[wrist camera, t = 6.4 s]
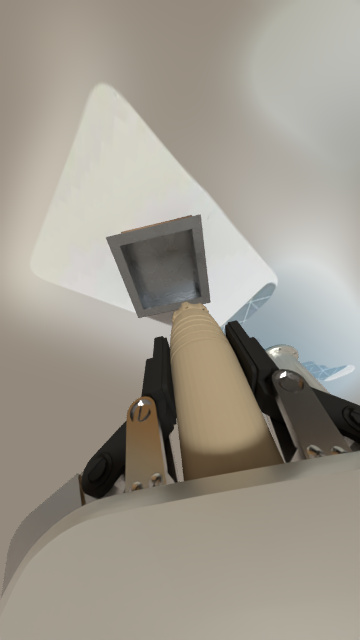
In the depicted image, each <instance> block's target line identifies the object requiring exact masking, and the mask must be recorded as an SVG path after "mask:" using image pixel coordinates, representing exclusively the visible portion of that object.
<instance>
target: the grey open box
mask: <svg viewBox="0 0 360 640" xmlns="http://www.w3.org/2000/svg"><path fill="white" fill-rule="evenodd" d="M106 239H107V241H108V244H109V246H110V249H111V251H112V254H113V256H114V259H115V261H116V264H117V266H118V269H119V271H120V274H121V276H122V278H123V281H124V283H125V286H126V288H127V291H128V293H129V296H130V298H131V301H132V303H133V306H134V308H135V311H136V313H137V315H138V318H141V317H146V316H150V315H155V314H159V313H164V312H169V311H173V310H178V309H179V308H180V307H181V304H182V303H184V302H188V303H190V304H198V303H201V304H206V303H210V294H209V285H208V276H207V267H206V258H205V249H204V240H203V231H202V222H201V215H196V216H192V217H188V218H184V219H180V220H176V221H172V222H167V223H163V224H159V225H155V226H151V227H147V228H143V229H139V230H134V231H130V232H126V233H122V234H118V235H114V236H110V237H106Z"/></svg>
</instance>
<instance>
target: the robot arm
mask: <svg viewBox="0 0 360 640" xmlns="http://www.w3.org/2000/svg"><path fill="white" fill-rule="evenodd" d="M225 332H226V338H227V340H228V341H229V343H230V345H231V347H232V349H233V351H234V352H235V354H236V357H237V359H238V361H239V363H240V366H241V368H242V370H243V372H244V375H245V377H246V379H247V381H248V384H249V386H250V388H251V390H252V393H253V395H254V397H255V399H256V402H257V404H258V406H259V408H260V410H261V412H263V413H264V414H266V416H267V419H268V422H269V425H270V428H271V431H272V434H273V437H274V440H275V443H276V446H277V448H278V450H279V452H280V454H281V457H282V459H283V461H284V464H278V465H272V466H267V467H261V468H256V469H250V470H244V471H239V472H233V473H228V474H222V475H216V476H211V477H205V478H200V479H194V480H189V481H184V482H180V481H179V477H178V471H177V467H176V461H175V456H174V451H173V446H172V440H171V435H170V433H171V432H172V431H173V429H174V425H175V424H176V418H177V414H176V406H175V398H174V390H173V382H172V374H171V360H170V347H169V344H168V341H167V338H164V337H163V336H161V337H157V338H155V339H154V351H153V358H150V359H147V360H146V366H145V374H144V381H143V389H142V396H141V397H140V398H138V399H137V400H135V401H134V402H133V403H132V404H131V405H130V407H129V409H128V412H127V420H126V422H125V423H124V424H123V425H122V426H121V427H120V428H119V429H118V430H117V431H116V432H115V433H114V434H113V436H112V437H111V438H110V439H109V440H108V441H107V442H106V443H105V444H104V445H103V446H102V448H100V449H99V450H98V452H97V453H96V454H95V455H94V456H93V457H92V458H91V459H90V461H89V462H88V464H87V466H86V467H85V469H84V471H83V472H82V473H81V474H76V475H75V476H74V477H73V478H72V479H70V480H69V481H68V482H67V483H66V484H64V485H63V486H62V487H61V488H60V489H59V490H57V491H56V492H55V493H54V494H53V495H52V496H50V497H49V498H48V499H47V500H45V501H44V502H43V503H42V504H41V505H40V506H38V507H37V508H36V509H35V510H34V511H32V512H31V513H30V514H29V515H28V516H27V517H26V518H25V519H24V520H23V521H22V523H21V524H20V526H19V527H18V529H17V530H16V532H15V534H14V536H13V538H12V540H11V542H10V546H9V550H8V554H7V562H6V569H5V576H4V583H3V590H2V597H1V600H0V640H360V406H359V405H357V404H354V403H352V402H349V401H346V400H344V399H341V398H339V397H336V396H333V395H331V394H330V393H329V392H328V391H327V390H326V389H325V388H324V387H323V386H322V385H321V384H320V383H319V382H318V380H317V379H316V378H315V377H314V376H313V375H312V374H311V373H310V372H309V371H308V370H307V369H306V368H305V367H304V366H303V365H302V364H301V363H300V362H299V361H298V352H297V351H296V350H295V349H294V348H293V347H292V346H289V345H277V346H273V347H271V348H268V349H267V350H264V349H263V347H262V346H261V345H260V344H259V342H258V341H257V340H256V339H255V338H254V337H252V338H249V336H248V335H247V334H246V332H245V331H244V330H243V328H242V327H241V325H240V324H239V323H238V321H232V322H228V325H225Z"/></svg>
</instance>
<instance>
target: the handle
mask: <svg viewBox="0 0 360 640" xmlns="http://www.w3.org/2000/svg"><path fill="white" fill-rule="evenodd" d="M172 322H173V325H172V330H171V340H170V360H171V374H172V382H173V390H174V398H175V406H176V414H177V422H178V431H179V440H180V449H181V458H182V467H183V476H184V481H189V480H194V479H200V478H205V477H211V476H216V475H222V474H228V473H233V472H239V471H244V470H250V469H256V468H261V467H267V466H272V465H278V464H284V461H283V459H282V457H281V454H280V452H279V450H278V448H277V446H276V443H275V441H274V439H273V437H272V435H271V433H270V431H269V428H268V426H267V424H266V422H265V419H264V417H263V415H262V413H261V411H260V408H259V406H258V404H257V402H256V399H255V397H254V395H253V393H252V390H251V388H250V386H249V384H248V381H247V379H246V377H245V375H244V372H243V370H242V368H241V366H240V363H239V361H238V359H237V357H236V354H235V352H234V351H233V349H232V347H231V345H230V343H229V341H228V340H227V338H226V336H225V334H224V333H223V331H222V330H221V328H220V327H219V325H218V324H217V322H216V321H215V320H214V318H213V317H212V316H211V315H210V314H209V311H208V310H207V308H206V307H205V306H204V305H203V304H201V303H198V304H190V303H188V302H184V303H182V304H181V307H180V308H179V309H178V310H177V311H175V312H174V313H173V317H172Z"/></svg>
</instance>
